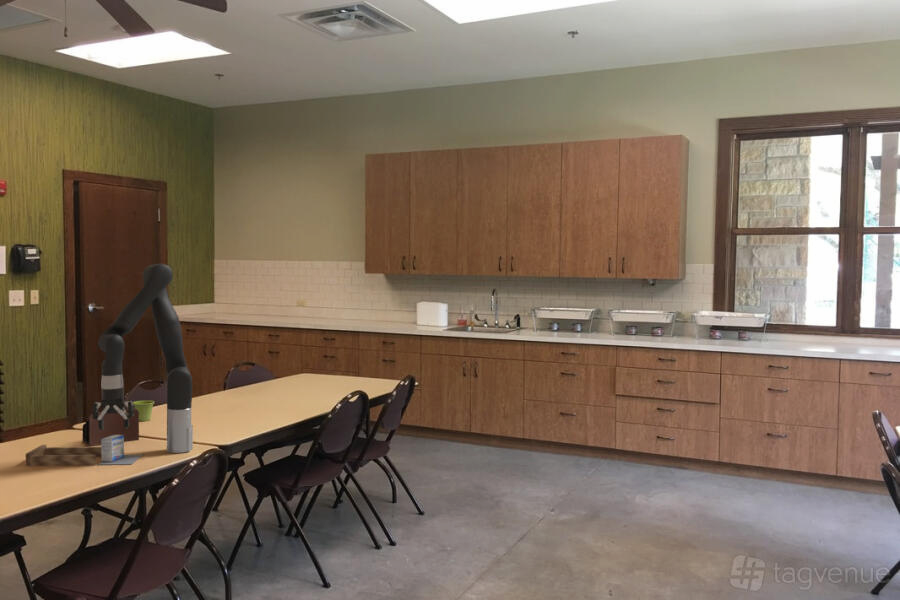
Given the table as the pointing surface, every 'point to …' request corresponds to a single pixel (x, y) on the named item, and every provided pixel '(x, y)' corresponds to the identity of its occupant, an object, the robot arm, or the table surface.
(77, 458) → the frame
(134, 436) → the letter holder
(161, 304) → the robot arm
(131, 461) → the slate mat
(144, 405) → the plant pot
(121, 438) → the medicine box
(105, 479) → the table surface
